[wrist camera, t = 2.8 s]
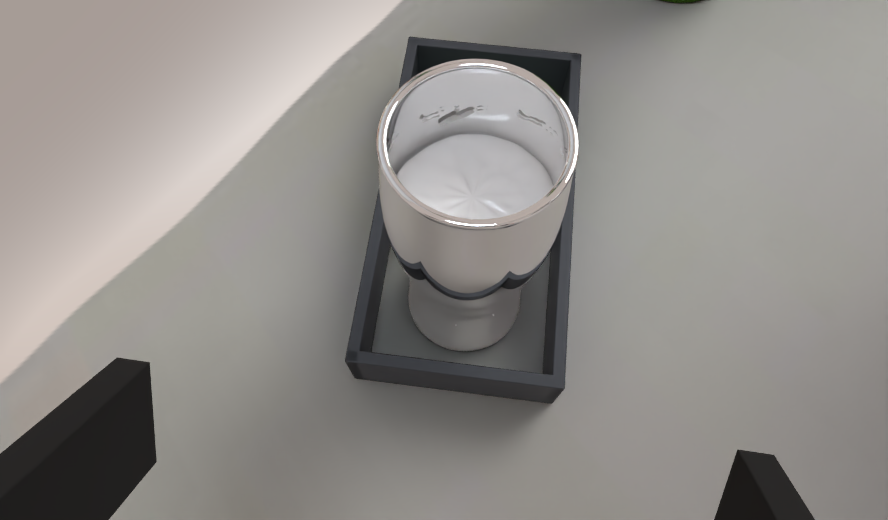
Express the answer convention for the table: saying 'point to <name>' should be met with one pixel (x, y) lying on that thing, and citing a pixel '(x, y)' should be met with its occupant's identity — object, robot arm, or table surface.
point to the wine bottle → (681, 1)
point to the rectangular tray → (546, 387)
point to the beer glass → (473, 192)
